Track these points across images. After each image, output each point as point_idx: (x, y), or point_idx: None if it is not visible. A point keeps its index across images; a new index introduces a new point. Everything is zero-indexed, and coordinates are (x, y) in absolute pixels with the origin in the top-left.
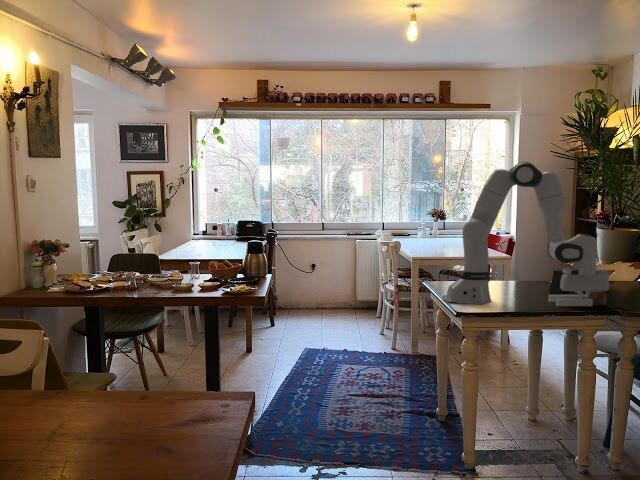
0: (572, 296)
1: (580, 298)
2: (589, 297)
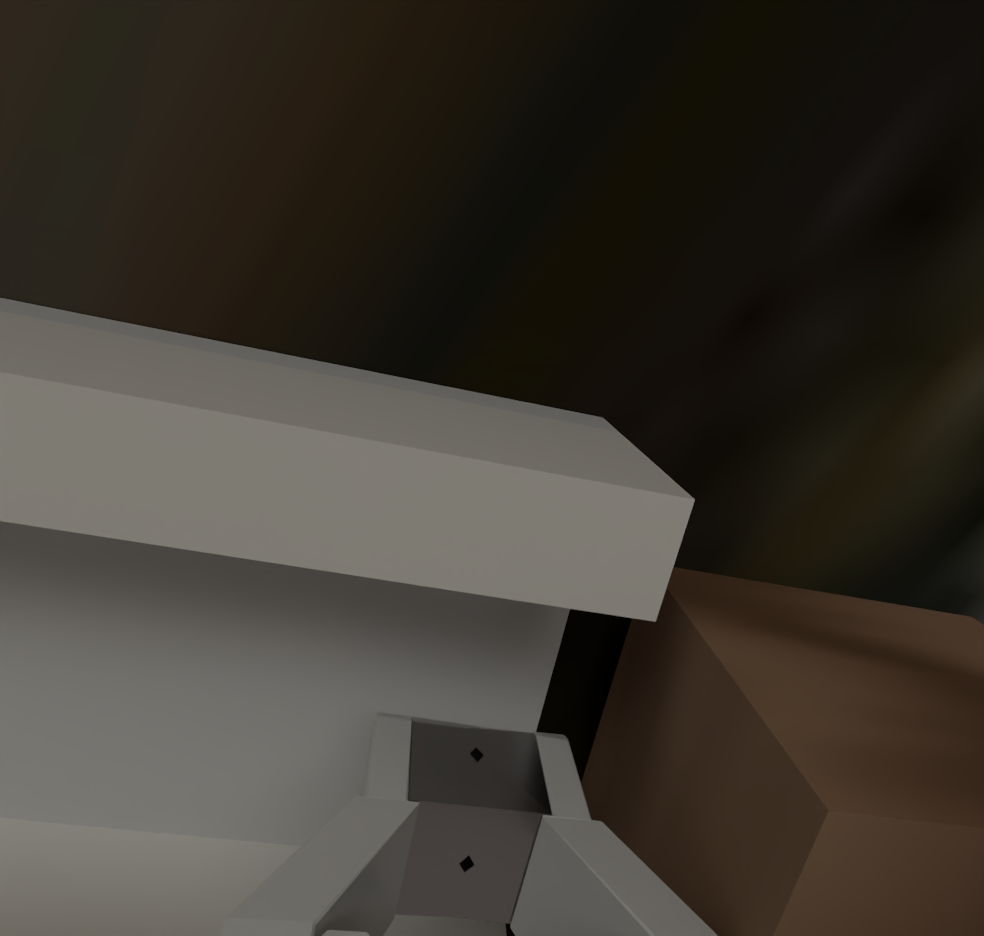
0: (220, 531)
1: (364, 782)
2: (652, 843)
